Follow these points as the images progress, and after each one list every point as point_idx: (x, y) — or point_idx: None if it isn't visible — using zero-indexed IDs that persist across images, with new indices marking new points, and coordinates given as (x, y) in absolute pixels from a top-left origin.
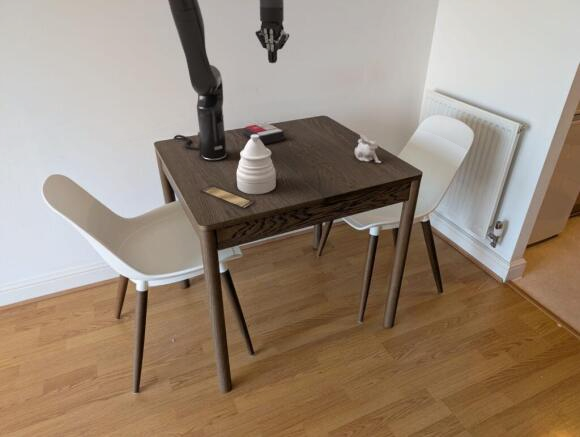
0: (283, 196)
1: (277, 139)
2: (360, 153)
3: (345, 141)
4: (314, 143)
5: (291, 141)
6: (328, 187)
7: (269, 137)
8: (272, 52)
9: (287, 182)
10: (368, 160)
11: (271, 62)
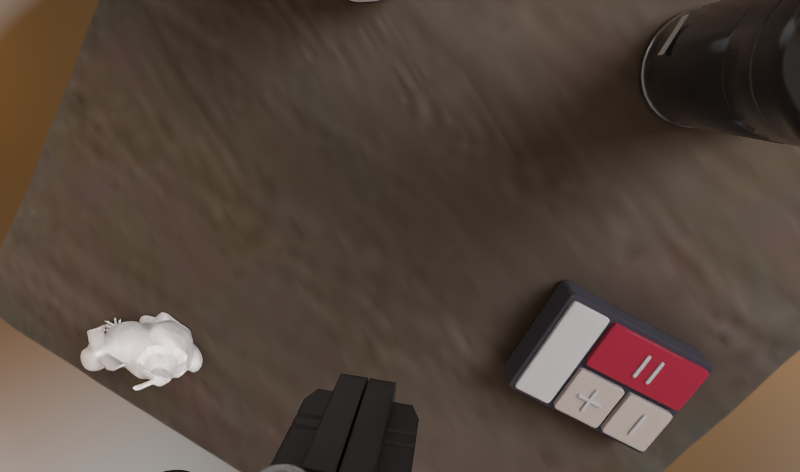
0: None
1: (521, 344)
2: (153, 325)
3: None
4: None
5: (469, 365)
6: (137, 57)
7: (545, 321)
8: (302, 465)
9: (276, 11)
10: (139, 319)
11: (356, 376)
